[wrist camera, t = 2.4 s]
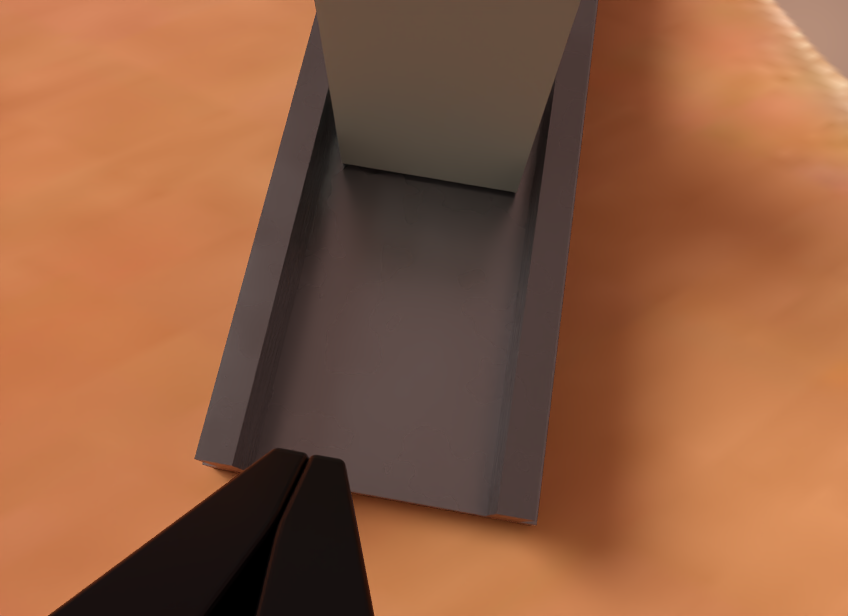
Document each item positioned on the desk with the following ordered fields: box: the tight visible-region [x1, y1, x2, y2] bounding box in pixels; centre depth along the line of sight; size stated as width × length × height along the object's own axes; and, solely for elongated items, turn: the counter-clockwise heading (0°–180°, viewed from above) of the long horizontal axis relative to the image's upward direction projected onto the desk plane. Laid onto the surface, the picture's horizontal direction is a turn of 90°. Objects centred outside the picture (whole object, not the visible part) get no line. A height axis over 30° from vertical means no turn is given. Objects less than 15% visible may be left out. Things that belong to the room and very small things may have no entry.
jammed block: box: [314, 0, 581, 193], centre depth 19 cm, size 5×6×10 cm
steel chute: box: [195, 0, 598, 525], centre depth 23 cm, size 24×10×4 cm, turn 170°
